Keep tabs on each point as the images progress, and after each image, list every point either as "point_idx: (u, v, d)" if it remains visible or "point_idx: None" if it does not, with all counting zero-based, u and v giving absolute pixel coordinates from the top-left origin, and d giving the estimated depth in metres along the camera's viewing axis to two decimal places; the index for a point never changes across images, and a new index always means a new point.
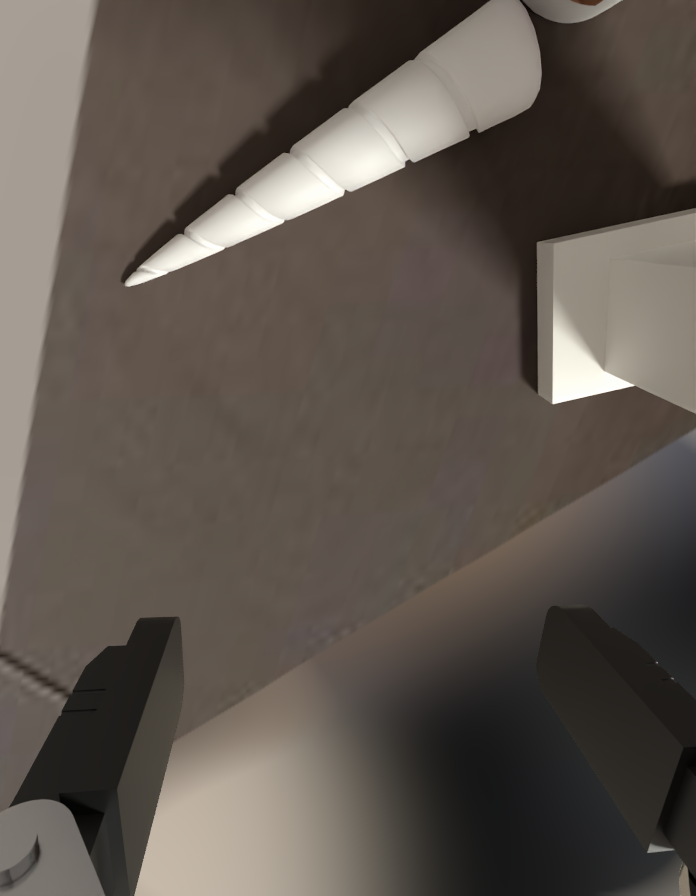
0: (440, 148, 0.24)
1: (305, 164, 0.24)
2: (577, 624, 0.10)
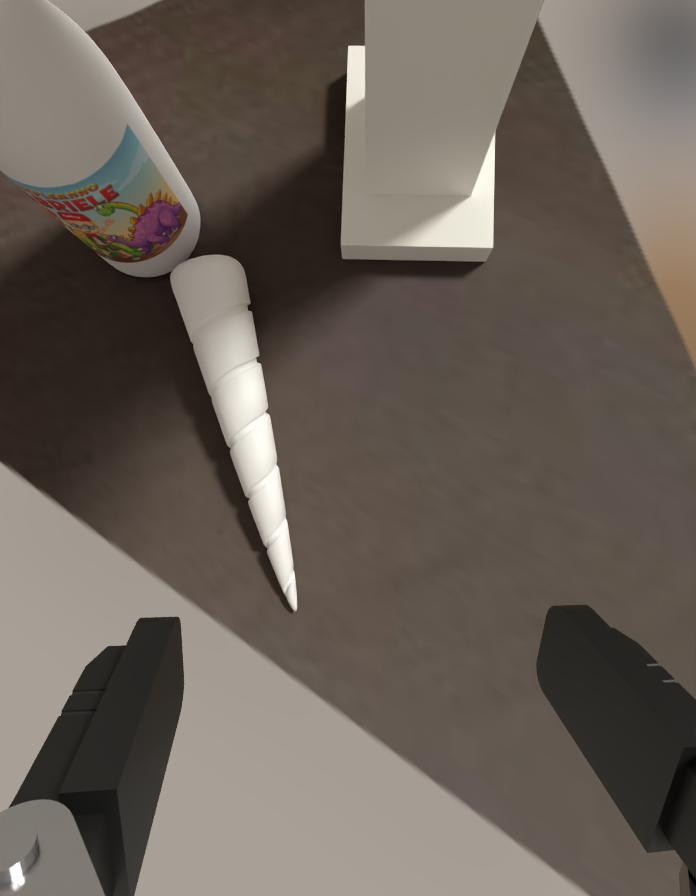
0: (252, 334, 0.31)
1: (238, 439, 0.31)
2: (577, 624, 0.10)
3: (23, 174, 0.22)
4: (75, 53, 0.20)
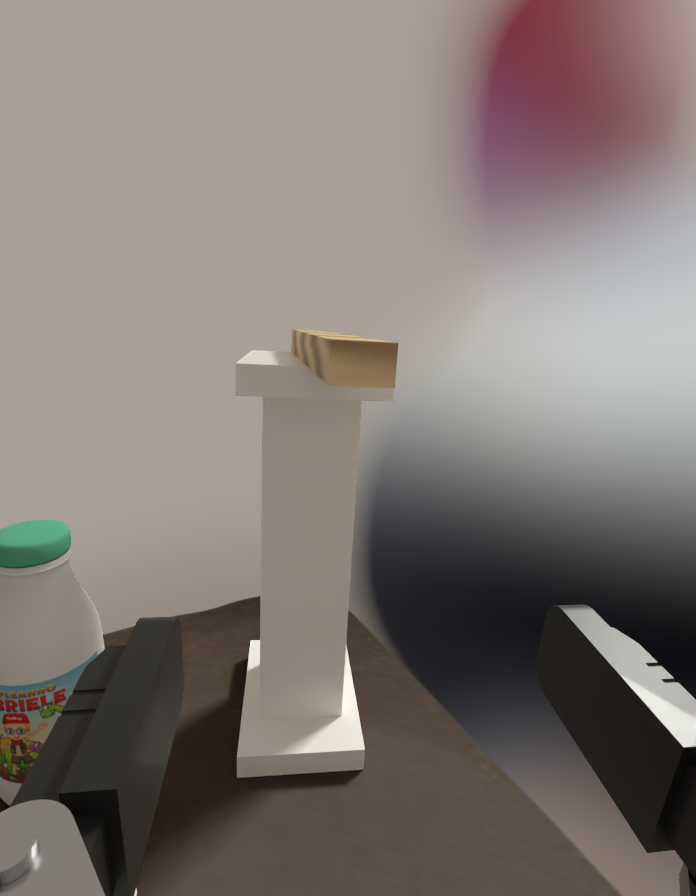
0: None
1: None
2: (577, 624, 0.10)
3: (5, 674, 0.31)
4: (87, 607, 0.34)
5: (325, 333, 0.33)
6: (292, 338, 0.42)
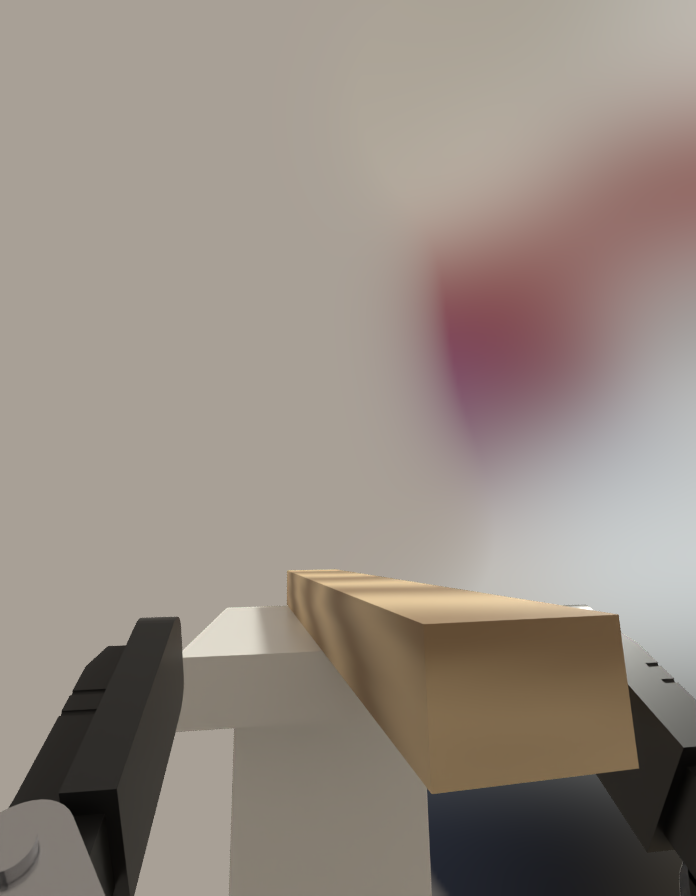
0: None
1: None
2: None
3: None
4: None
5: (347, 577, 0.19)
6: (288, 584, 0.28)
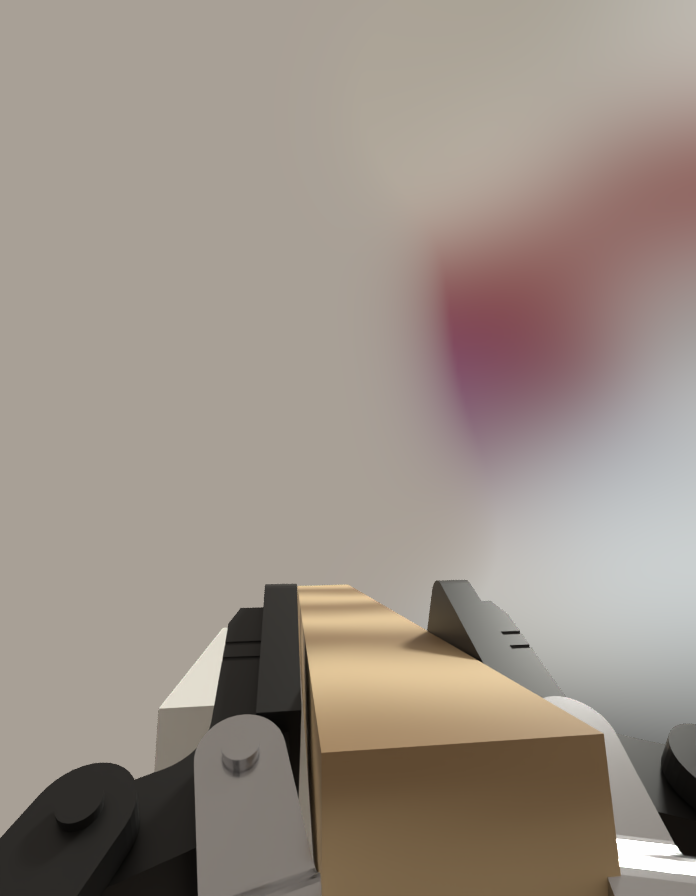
0: None
1: None
2: (449, 596, 0.10)
3: None
4: None
5: (342, 605, 0.17)
6: (297, 601, 0.27)
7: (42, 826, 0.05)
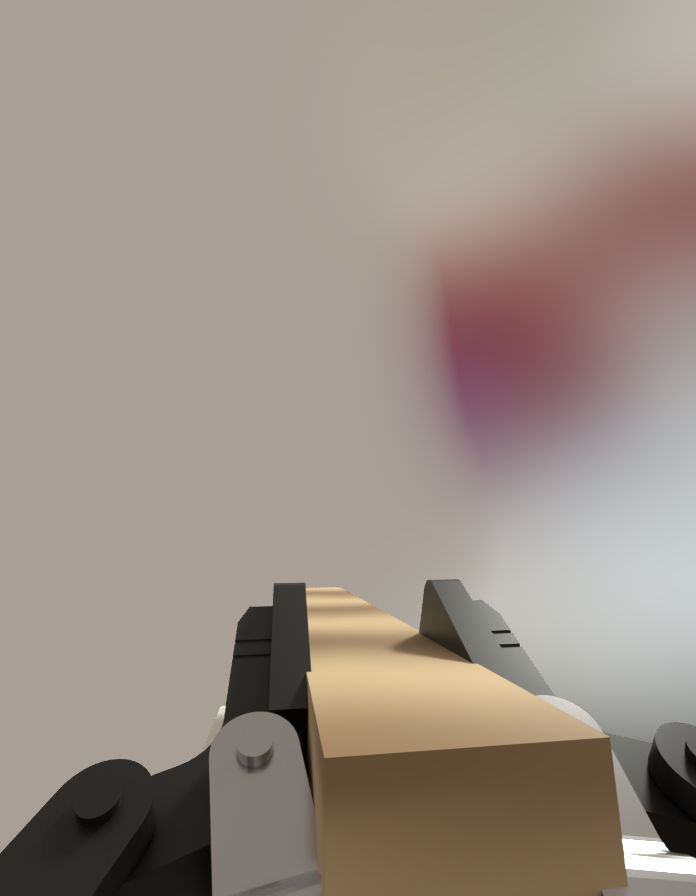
0: None
1: None
2: (440, 595, 0.10)
3: None
4: None
5: (336, 608, 0.17)
6: None
7: (62, 821, 0.05)
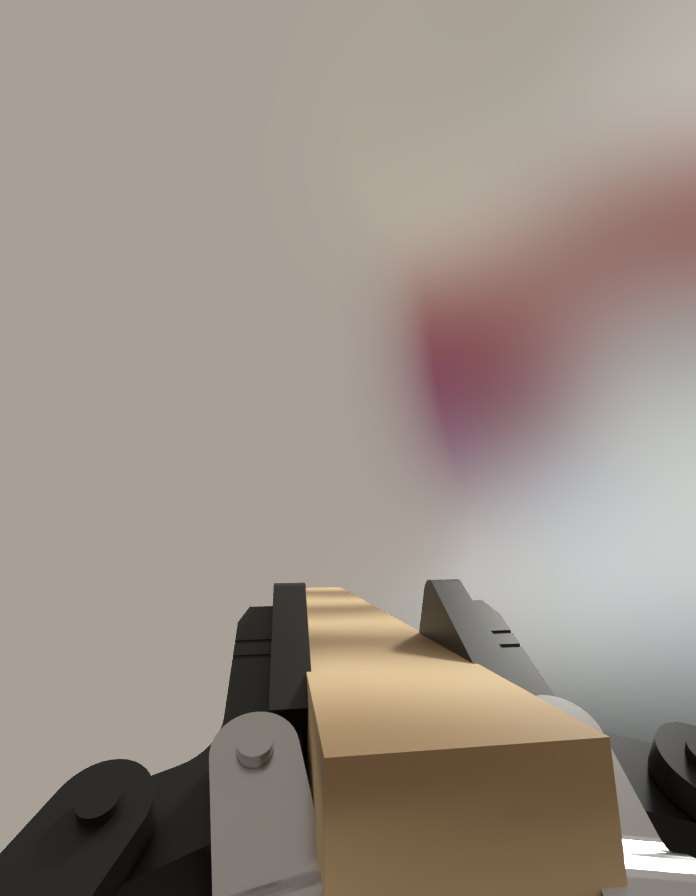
0: None
1: None
2: (440, 595, 0.10)
3: None
4: None
5: (336, 608, 0.17)
6: None
7: (62, 820, 0.05)
